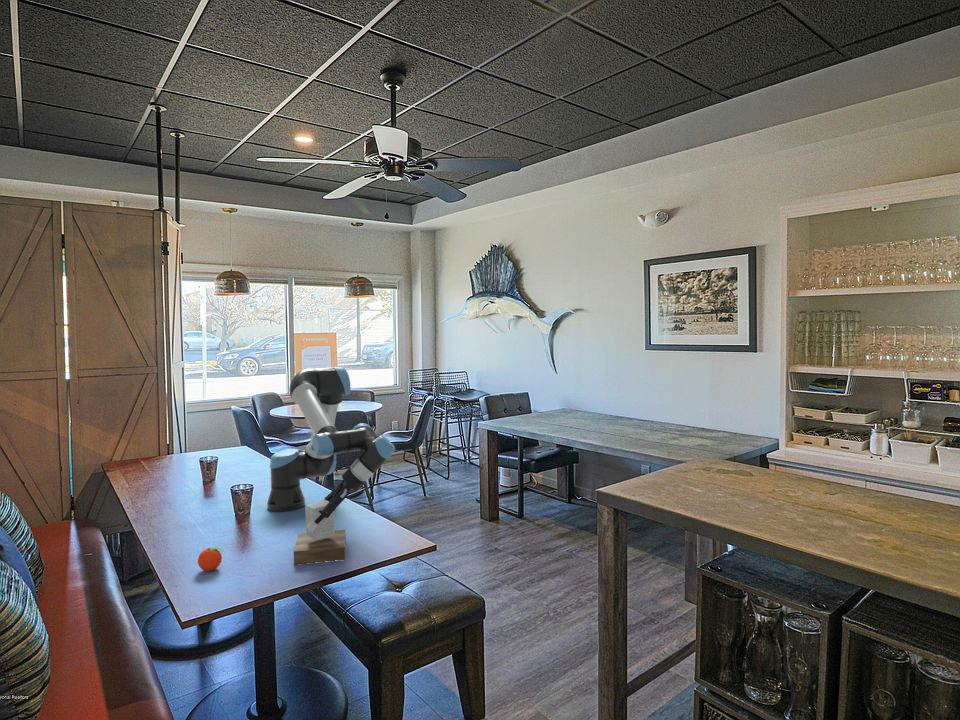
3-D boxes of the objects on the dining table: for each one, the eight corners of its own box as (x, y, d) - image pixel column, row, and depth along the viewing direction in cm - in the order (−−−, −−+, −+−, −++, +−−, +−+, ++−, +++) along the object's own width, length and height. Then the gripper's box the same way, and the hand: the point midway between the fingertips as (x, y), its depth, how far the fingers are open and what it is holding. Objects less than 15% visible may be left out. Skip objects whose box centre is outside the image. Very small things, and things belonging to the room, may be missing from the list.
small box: (327, 529, 199) (326, 499, 198) (335, 533, 195) (334, 503, 194) (305, 535, 193) (304, 504, 192) (313, 539, 189) (312, 508, 188)
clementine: (225, 563, 187) (224, 541, 186) (226, 571, 181) (225, 549, 180) (197, 568, 183) (196, 546, 182) (198, 576, 177) (197, 554, 176)
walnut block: (298, 547, 200) (298, 533, 200) (345, 543, 204) (345, 529, 203) (294, 566, 185) (293, 551, 184) (344, 561, 188) (344, 547, 188)
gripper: (365, 491, 185) (316, 543, 183) (365, 473, 206) (320, 520, 204) (348, 476, 184) (298, 528, 182) (350, 459, 205) (305, 506, 203)
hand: (310, 524), depth 193 cm, fingers closed on small box, 9 cm apart
